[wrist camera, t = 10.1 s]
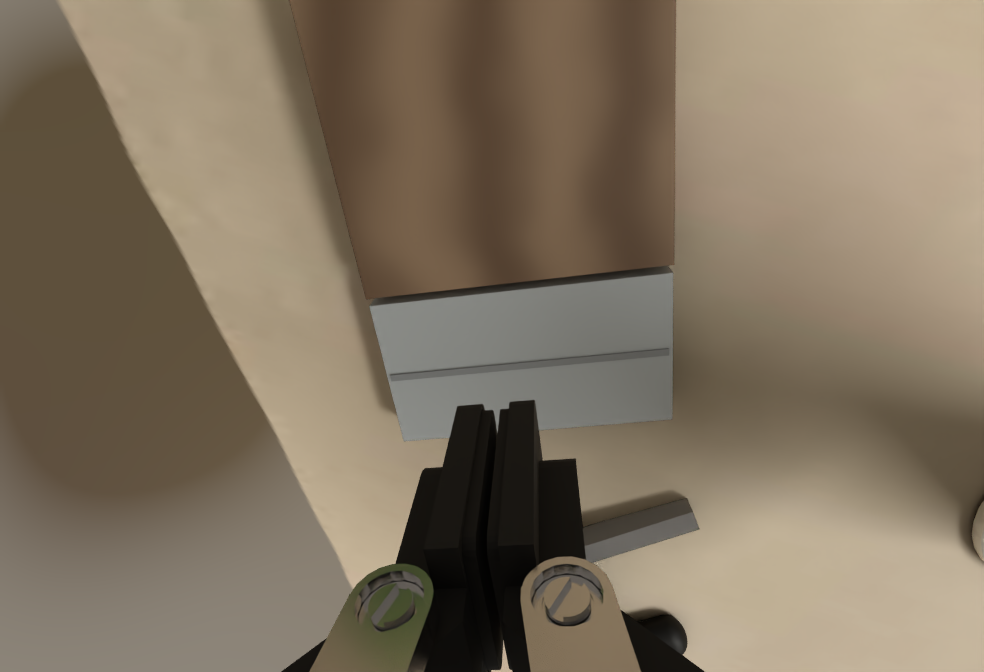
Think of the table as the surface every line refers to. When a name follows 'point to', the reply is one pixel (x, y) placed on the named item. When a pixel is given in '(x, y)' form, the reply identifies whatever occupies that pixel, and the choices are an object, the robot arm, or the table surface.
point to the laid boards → (532, 350)
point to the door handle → (639, 533)
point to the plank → (496, 136)
